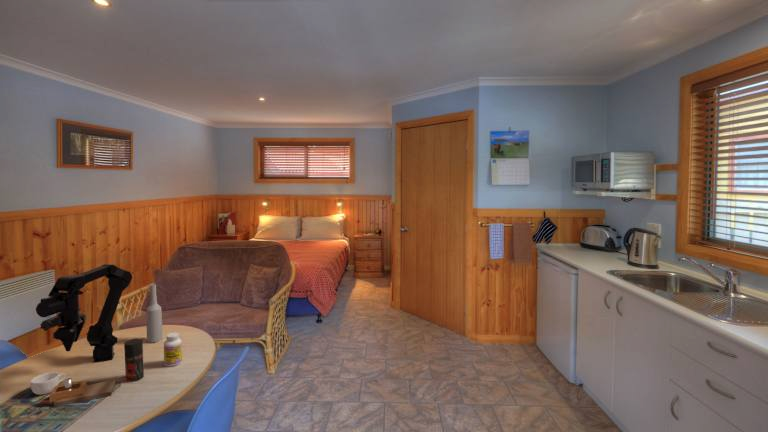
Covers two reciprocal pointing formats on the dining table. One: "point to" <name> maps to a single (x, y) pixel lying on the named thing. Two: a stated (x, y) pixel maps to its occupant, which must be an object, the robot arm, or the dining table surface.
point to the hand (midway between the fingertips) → (71, 346)
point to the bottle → (154, 318)
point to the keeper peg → (68, 383)
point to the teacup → (45, 382)
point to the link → (68, 391)
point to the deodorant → (134, 360)
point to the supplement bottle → (172, 350)
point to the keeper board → (90, 393)
